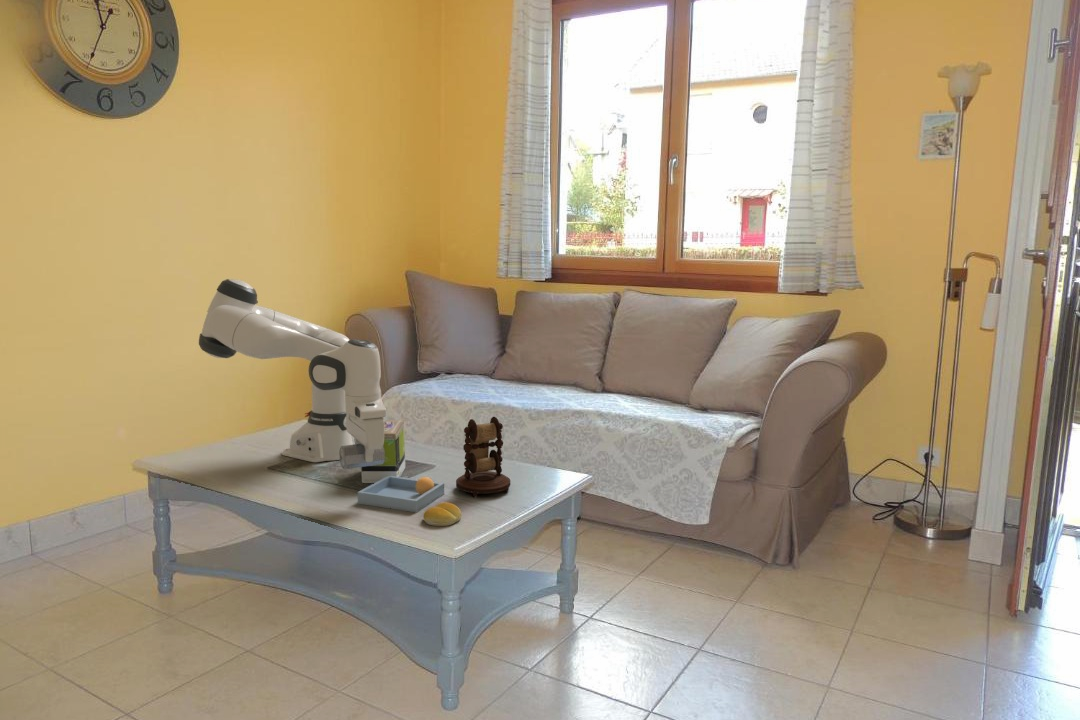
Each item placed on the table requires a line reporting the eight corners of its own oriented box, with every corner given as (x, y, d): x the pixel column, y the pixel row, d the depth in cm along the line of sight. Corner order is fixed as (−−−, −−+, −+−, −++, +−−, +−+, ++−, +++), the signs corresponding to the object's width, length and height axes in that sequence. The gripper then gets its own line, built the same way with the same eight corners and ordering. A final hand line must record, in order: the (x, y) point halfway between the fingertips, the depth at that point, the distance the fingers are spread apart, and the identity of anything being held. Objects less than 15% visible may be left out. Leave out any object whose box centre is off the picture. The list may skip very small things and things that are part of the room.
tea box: (372, 467, 226) (371, 419, 224) (406, 468, 226) (405, 419, 224) (360, 484, 212) (359, 432, 209) (397, 484, 212) (396, 432, 209)
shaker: (345, 449, 189) (384, 445, 194) (339, 444, 193) (377, 439, 198) (345, 471, 189) (384, 465, 194) (339, 465, 194) (378, 460, 199)
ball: (435, 490, 204) (417, 494, 203) (431, 473, 204) (413, 477, 203) (435, 495, 199) (417, 499, 199) (432, 477, 199) (413, 481, 198)
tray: (357, 503, 196) (357, 492, 196) (388, 486, 210) (388, 475, 210) (416, 512, 190) (416, 501, 190) (444, 494, 204) (444, 483, 204)
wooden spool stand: (495, 478, 219) (495, 409, 215) (520, 493, 206) (521, 421, 203) (447, 485, 211) (447, 415, 208) (470, 502, 199) (470, 427, 195)
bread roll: (417, 522, 184) (416, 506, 184) (442, 512, 192) (442, 496, 191) (442, 530, 180) (442, 514, 179) (467, 519, 187) (467, 503, 186)
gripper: (339, 397, 199) (340, 449, 202) (363, 414, 182) (364, 470, 184) (363, 395, 202) (364, 446, 205) (388, 411, 185) (389, 466, 187)
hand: (364, 457), depth 194 cm, fingers closed on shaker, 5 cm apart
